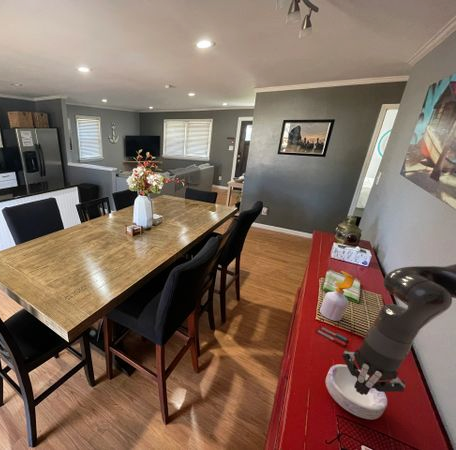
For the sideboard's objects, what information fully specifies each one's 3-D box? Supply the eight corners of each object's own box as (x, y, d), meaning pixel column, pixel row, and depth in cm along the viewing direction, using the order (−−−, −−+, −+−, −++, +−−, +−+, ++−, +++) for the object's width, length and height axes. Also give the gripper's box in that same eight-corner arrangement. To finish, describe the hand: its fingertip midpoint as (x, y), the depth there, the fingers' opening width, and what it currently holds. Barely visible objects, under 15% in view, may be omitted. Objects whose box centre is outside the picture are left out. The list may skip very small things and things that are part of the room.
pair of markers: (344, 344, 102) (345, 342, 102) (344, 346, 101) (344, 345, 101) (318, 330, 109) (319, 328, 108) (317, 332, 108) (317, 330, 107)
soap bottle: (315, 308, 122) (330, 267, 112) (331, 307, 123) (347, 267, 114) (328, 322, 114) (346, 279, 104) (346, 320, 115) (364, 278, 105)
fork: (346, 340, 104) (347, 338, 104) (345, 342, 103) (346, 340, 103) (322, 327, 111) (322, 325, 110) (321, 329, 110) (321, 327, 109)
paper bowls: (315, 374, 89) (321, 359, 86) (361, 383, 86) (369, 368, 83) (334, 419, 75) (343, 403, 72) (390, 431, 73) (401, 415, 70)
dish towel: (359, 284, 143) (362, 279, 142) (359, 304, 126) (362, 298, 125) (326, 273, 153) (327, 268, 152) (321, 290, 136) (323, 285, 135)
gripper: (425, 355, 56) (394, 401, 63) (356, 321, 65) (335, 365, 72) (422, 374, 52) (389, 422, 58) (348, 335, 61) (327, 380, 68)
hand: (359, 390), depth 65 cm, fingers closed
